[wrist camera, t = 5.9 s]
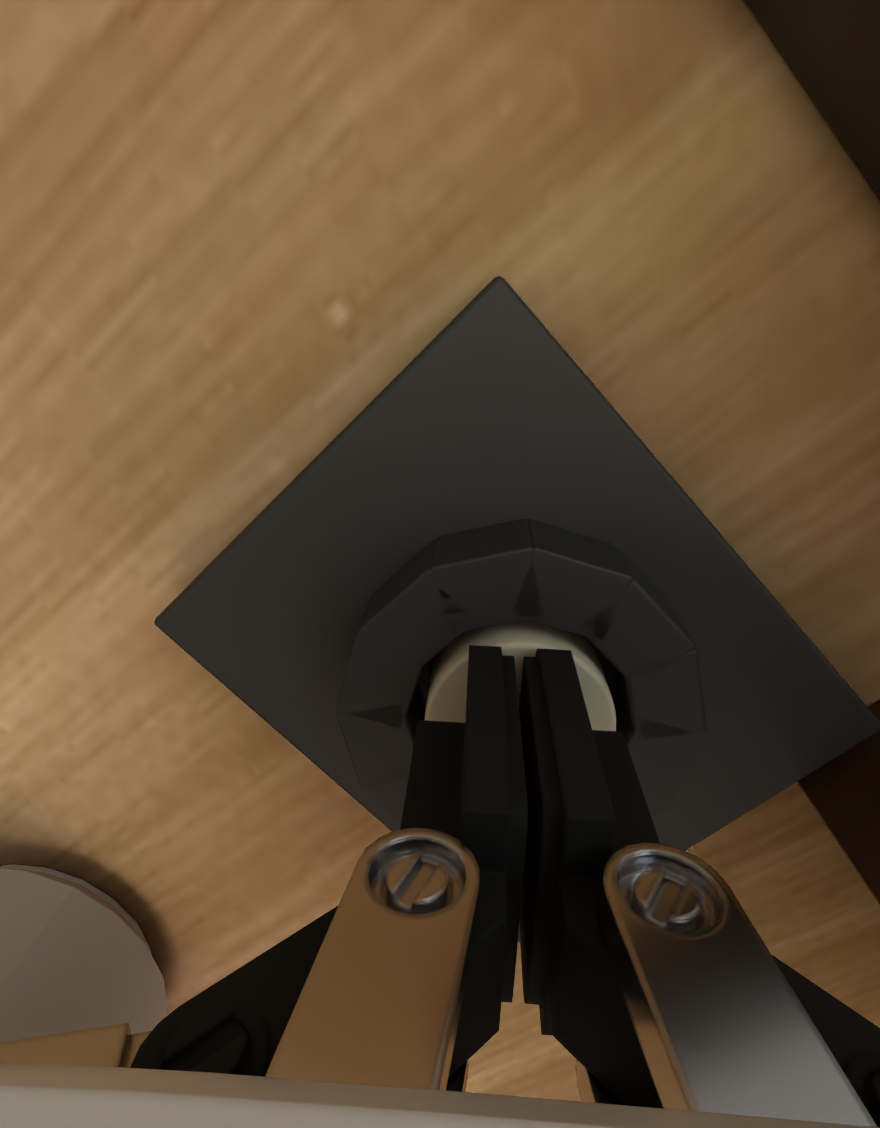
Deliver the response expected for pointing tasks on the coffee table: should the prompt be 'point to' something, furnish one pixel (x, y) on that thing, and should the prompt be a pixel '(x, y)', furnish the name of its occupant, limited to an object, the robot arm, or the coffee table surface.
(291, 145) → the coffee table surface
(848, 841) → the stand
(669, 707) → the pad
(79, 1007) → the can
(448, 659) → the button
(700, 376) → the coffee table surface
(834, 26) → the scale
